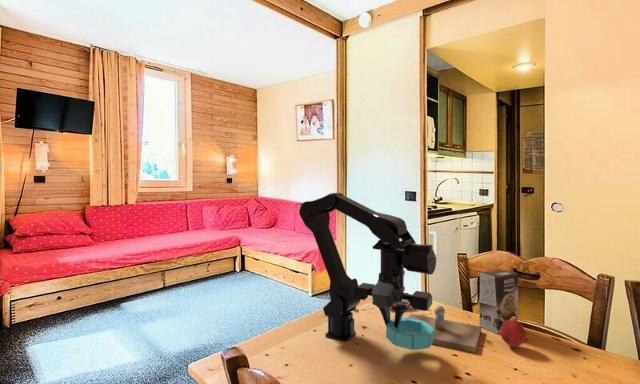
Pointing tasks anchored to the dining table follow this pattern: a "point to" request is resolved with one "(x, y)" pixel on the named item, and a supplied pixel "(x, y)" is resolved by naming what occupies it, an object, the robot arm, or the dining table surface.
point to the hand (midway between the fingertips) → (392, 329)
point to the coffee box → (497, 298)
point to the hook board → (451, 331)
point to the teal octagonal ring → (407, 340)
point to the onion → (513, 332)
